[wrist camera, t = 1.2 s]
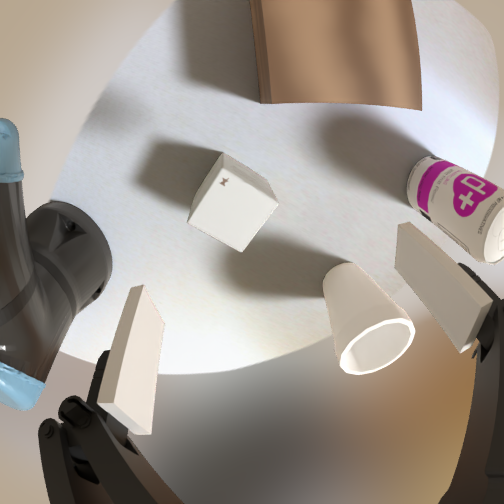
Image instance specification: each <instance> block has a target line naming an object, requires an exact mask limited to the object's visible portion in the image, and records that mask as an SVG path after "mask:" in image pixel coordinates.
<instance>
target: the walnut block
mask: <svg viewBox="0 0 504 504" xmlns="http://www.w3.org/2000/svg"><path fill="white" fill-rule="evenodd" d="M250 7H251V16H252V25H253V34H254V43H255V52H256V62H257V72H258V82H259V93H260V104H279V103H351V104H368V105H380V106H390V107H399V108H407V109H414V110H421V111H422V85H421V68H420V56H419V46H418V38H417V31H416V24H415V18H414V13H413V7H412V2H411V0H250Z"/></svg>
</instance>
